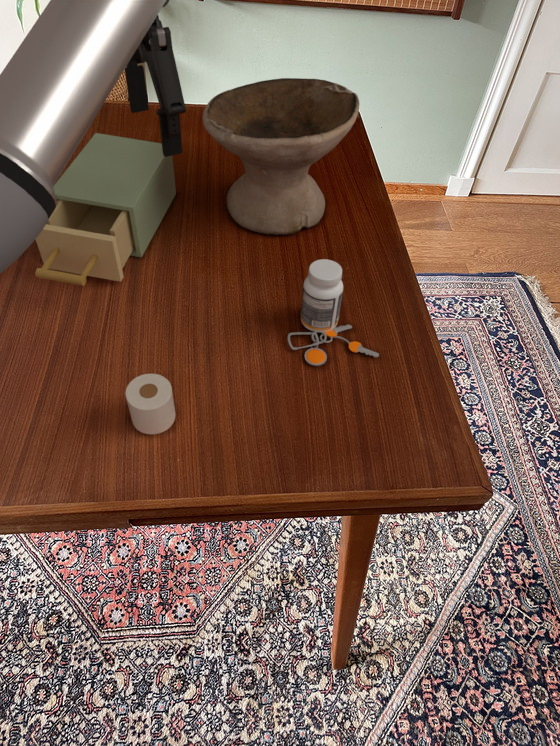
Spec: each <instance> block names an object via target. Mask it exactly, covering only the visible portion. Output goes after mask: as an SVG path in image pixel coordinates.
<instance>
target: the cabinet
mask: <svg viewBox="0 0 560 746" xmlns="http://www.w3.org/2000/svg"><path fill="white" fill-rule="evenodd" d="M173 156H174V155H172V156H168V157H165V156H164V155H163V150H162V142H161V143H160V142H155V141H150V140H149V141H148V140H142V139H136V138H130V137H124V136H118V135H112V134H106V133H105V134H103V133H98V132H95V133H94V134H93V136H92V137H91V138H90V139H89V141H88V142H87V143H86V145H84V147H83V148H82V149H81V151H80V152H79V153H78V155H77V156H76V157H75V158H74V159H73V161H72V162H71V163H70V164H69V166H68V167H67V169H66V170H65V171H64V172H63V174H62V175H60V176H59V178H58V179H57V181H56V183H55V184H54V191H55V194H56V197H57V201H58V200H59V199H60V200H66V201H72V202H78V203H84V204H90V205H96V206H101V207H107V208H113V209H119V210H125V211H129V214H130V219H131V225H132V231H133V237H134V242H135V247H134V249H133V251H132V253H131V254H130V256H131V257H136V258H143V256H144V254H145V252H146V250H147V248H148V246H149V245H150V242H151V241H152V239H153V237H154V236H155V234H156V232H157V230H158V228H159V226H160V225H161V223H162V221H163V218H164V217H165V215H166V213H167V211H168V210H169V208H170V206H171V204H172V202H173V201H174V199H175V196H176V195H177V190H176V189H177V188H176V179H175V169H174V157H173ZM130 256H129V257H130Z"/></svg>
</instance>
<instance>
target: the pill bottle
mask: <svg viewBox="0 0 560 746" xmlns="http://www.w3.org/2000/svg"><path fill="white" fill-rule="evenodd" d="M307 273H308V275H307V277H306V278H305V279H304V281H303V284H302V296H301V307H300V322H301V324H302V325H303V327H304V328H306V329H307V330H309V331H310V332H314V331H323V332H326V331H330V330H332V329H334V328H335V327H337V325H338V324H339V323H338V322H339V318H340V312H341V308H342V307H341V306H342V301H343V293H344V283H343V280H342V278H343V268H342V266H341V265H340V264H339V263H338V262H336V261H334V260H331V259H327V258H322V259H317V260H315V261H313V262H311V263H310V265H309V267H308V272H307ZM318 333H319V334H321V333H320V332H318Z"/></svg>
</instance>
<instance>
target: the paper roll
mask: <svg viewBox="0 0 560 746" xmlns="http://www.w3.org/2000/svg"><path fill="white" fill-rule="evenodd" d="M124 392H125V393H124V394H125V395H124V396H125V400H126V403H127V407H128V411H129V415H130V419H131V422H132V425H133V427H134V428H135V429H136V430H137V431H139V432H140V433H142V434H146V435H158V434H162V433H164V432H166V431H168V430H169V429H170V428H171V427H172V426H173V424H174V422H175V420H176V415H177V414H176V407H175V399H174V394H173V387H172V383H171V382H170V381H169V380H168V379H167V378H166V377H165V376H163V375H161V374H157V373H144V374H141V375H138V376H136V377H135V378H133V379H132V380H131V381H130V382H129V383H128V384H127V386H126V389H125V391H124Z"/></svg>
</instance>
